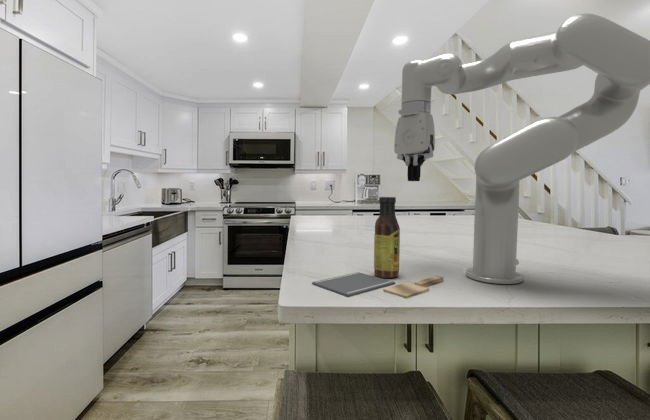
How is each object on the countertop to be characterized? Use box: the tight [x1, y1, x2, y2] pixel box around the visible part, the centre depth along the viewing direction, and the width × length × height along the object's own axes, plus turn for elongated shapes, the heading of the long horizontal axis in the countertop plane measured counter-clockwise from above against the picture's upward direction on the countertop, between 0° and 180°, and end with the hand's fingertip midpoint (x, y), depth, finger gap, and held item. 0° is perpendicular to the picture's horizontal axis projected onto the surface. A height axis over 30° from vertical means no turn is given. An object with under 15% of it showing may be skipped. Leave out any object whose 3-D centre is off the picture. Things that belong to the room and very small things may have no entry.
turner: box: [383, 274, 444, 299], centre depth 77 cm, size 17×6×1 cm, turn 130°
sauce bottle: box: [373, 196, 401, 279], centre depth 86 cm, size 6×6×20 cm
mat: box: [311, 271, 396, 298], centre depth 80 cm, size 15×12×1 cm
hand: (413, 180), depth 93 cm, fingers closed
